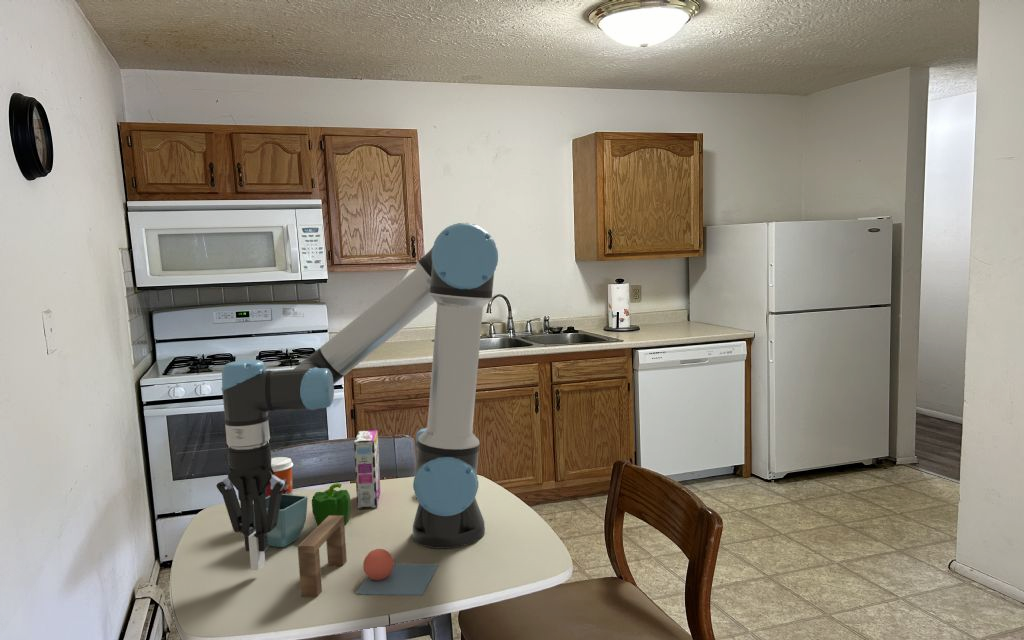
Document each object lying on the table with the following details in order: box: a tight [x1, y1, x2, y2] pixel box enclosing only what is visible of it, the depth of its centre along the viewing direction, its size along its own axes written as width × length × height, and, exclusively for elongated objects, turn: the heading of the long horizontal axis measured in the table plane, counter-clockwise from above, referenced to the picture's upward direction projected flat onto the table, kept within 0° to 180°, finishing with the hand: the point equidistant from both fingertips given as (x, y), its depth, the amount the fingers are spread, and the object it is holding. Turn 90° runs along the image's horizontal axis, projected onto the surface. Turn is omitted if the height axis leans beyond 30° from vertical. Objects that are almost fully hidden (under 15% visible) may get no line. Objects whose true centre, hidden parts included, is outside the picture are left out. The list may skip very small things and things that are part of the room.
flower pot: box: [253, 494, 309, 548], centre depth 149 cm, size 9×9×9 cm
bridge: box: [297, 516, 347, 598], centre depth 131 cm, size 3×14×9 cm, turn 173°
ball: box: [362, 548, 395, 581], centre depth 130 cm, size 6×6×6 cm
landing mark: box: [355, 563, 438, 596], centre depth 130 cm, size 12×12×1 cm
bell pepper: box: [311, 482, 352, 527], centre depth 156 cm, size 8×8×10 cm
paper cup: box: [266, 456, 294, 497], centre depth 161 cm, size 8×8×14 cm
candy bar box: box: [353, 429, 381, 510], centre depth 172 cm, size 11×5×16 cm, turn 6°
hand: (258, 567), depth 133 cm, fingers closed
